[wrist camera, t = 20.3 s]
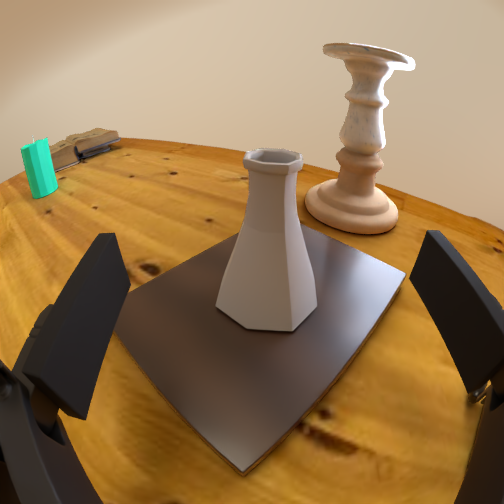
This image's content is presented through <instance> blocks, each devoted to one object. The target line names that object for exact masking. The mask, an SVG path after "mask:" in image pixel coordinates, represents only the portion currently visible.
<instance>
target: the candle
mask: <svg viewBox="0 0 504 504" xmlns="http://www.w3.org/2000/svg"><path fill="white" fill-rule="evenodd" d="M32 137H33V135H32ZM21 153H22V158H23V162H24V166H25V170H26V174H27V178H28V182H29V185H30V189H31V192H32V196H33V198H35V199H38V198H42V197H44V196H47V195H49V194H51V193H52V192H54V191H55V190H56V189H57V188H58V184H57V180H56V176H55V172H54V168H53V163H52V159H51V154H50V149H49V144H48V139H47V138H45V139H44V140H37V141H36V142H34V139H33V143H32V144H28V145H25V146H24V147H22V148H21Z"/></svg>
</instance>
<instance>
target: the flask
mask: <svg viewBox="0 0 504 504" xmlns="http://www.w3.org/2000/svg"><path fill="white" fill-rule="evenodd" d="M243 164H244V168H245V169H248V172H249V196H248V201H247V207H246V212H245V218H244V221H243V223H242V226H241V229H240V232H239V235H238V238H237V241H236V244H235V247H234V249H233V252H232V254H231V257H230V259H229V262H228V265H227V267H226V270H225V273H224V276H223V279H222V282H221V286H220V290H219V294H218V298H217V302H216V307H218V308H219V309H220V310H222V311H223V312H224V313H226V314H227V315H228V316H230V317H231V318H233V319H234V320H235V321H237V322H238V323H239V324H241V325H242V326H244V327H245V328H247V329H260V330H276V331H293V330H294V329H295V328H296V327H297V326H298V325H299V324H300V323H301V322H302V321H303V320H304V319H305V318H306V317H307V316H308V315H309V314H310V313H311V312H312V311H313V310H314V309H315V308H316V307H317V299H316V289H315V280H314V275H313V271H312V267H311V264H310V260H309V257H308V253H307V250H306V246H305V242H304V238H303V234H302V230H301V226H300V222H299V218H298V215H297V204H296V179H297V173H298V171H299V170H301V169H302V166H303V157H302V154H301V153H297V152H293V151H289V150H285V149H272V148H260V149H256V150H252V151H249V152H246V154H245V156H244V158H243Z"/></svg>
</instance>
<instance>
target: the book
mask: <svg viewBox="0 0 504 504" xmlns="http://www.w3.org/2000/svg"><path fill="white" fill-rule="evenodd" d="M120 140H121V138H119V136H118V132H117V131H111V130H105V129H101V128H95V129H93V130H91V131H88V132H85V133H82V134H74V135H70V136H68V137H67V138H66V140H62V141H59V142H58V143H56V144H54V145H52V146H49V149H50V154H51V159H52V163H53V168H54V172H56V171H59V170H62V169H64V168H67V167H70V166H72V165H75V164H78V163H79V162H80V161H79V159H80V158H85V157H89V156H92V155H94V154H97V153H101V152H104V151H107V150H110V149H109V147H108V146H107V145H109V144H111V143H114V142H118V141H120ZM78 154H81V155H80V157H79V155H78Z"/></svg>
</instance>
